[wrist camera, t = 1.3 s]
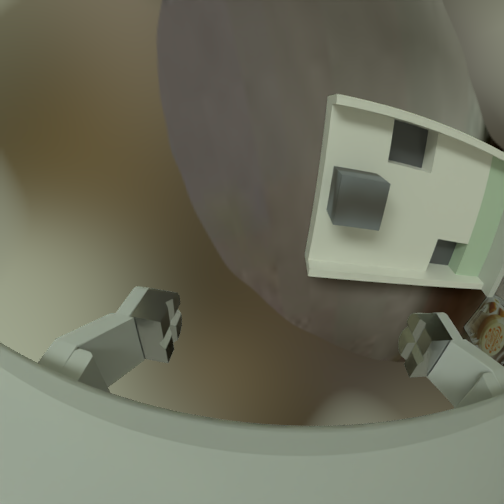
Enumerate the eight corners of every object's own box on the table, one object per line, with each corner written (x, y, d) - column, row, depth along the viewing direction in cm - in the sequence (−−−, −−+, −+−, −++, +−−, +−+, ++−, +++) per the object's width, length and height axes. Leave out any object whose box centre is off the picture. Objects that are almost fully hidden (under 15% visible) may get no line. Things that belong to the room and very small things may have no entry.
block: (333, 165, 27) (342, 174, 23) (377, 173, 27) (390, 183, 23) (326, 209, 29) (332, 224, 26) (367, 215, 29) (379, 230, 26)
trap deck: (327, 96, 26) (342, 92, 20) (508, 158, 25) (538, 171, 19) (304, 254, 36) (309, 286, 30) (472, 272, 35) (492, 297, 29)
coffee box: (488, 291, 36) (529, 351, 22) (502, 298, 37) (539, 352, 23) (462, 327, 41) (493, 389, 27) (477, 331, 41) (507, 388, 27)
